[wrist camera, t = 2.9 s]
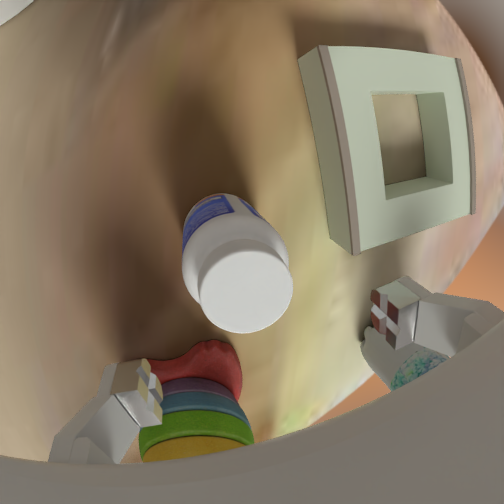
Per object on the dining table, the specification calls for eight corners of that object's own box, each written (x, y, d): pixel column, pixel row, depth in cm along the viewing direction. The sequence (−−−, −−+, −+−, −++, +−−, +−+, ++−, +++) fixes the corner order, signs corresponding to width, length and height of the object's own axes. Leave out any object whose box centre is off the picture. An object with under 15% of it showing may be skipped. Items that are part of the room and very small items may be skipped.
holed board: (297, 59, 17) (318, 45, 14) (432, 63, 19) (460, 59, 15) (330, 238, 23) (353, 255, 19) (448, 203, 24) (475, 213, 21)
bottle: (383, 359, 30) (481, 485, 12) (342, 352, 28) (447, 511, 10) (415, 310, 28) (537, 429, 10) (376, 297, 26) (521, 447, 8)
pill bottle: (179, 260, 21) (175, 344, 12) (189, 186, 19) (186, 225, 10) (251, 267, 22) (291, 349, 14) (265, 197, 21) (322, 242, 12)
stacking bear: (227, 332, 24) (284, 543, 8) (256, 401, 28) (306, 553, 12) (116, 362, 23) (91, 550, 7) (163, 424, 27) (172, 571, 11)
